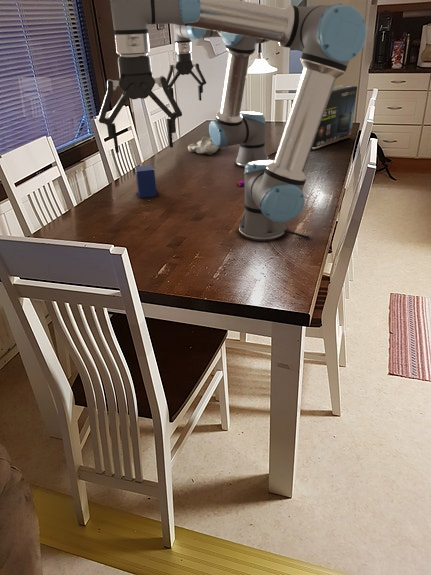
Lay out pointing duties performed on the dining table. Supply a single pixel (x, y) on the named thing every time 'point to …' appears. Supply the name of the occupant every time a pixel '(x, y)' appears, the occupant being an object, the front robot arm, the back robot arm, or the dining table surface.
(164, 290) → the dining table surface
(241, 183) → the handgun
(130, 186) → the dining table surface
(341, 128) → the router box
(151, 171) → the block
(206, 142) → the fossil
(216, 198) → the dining table surface
